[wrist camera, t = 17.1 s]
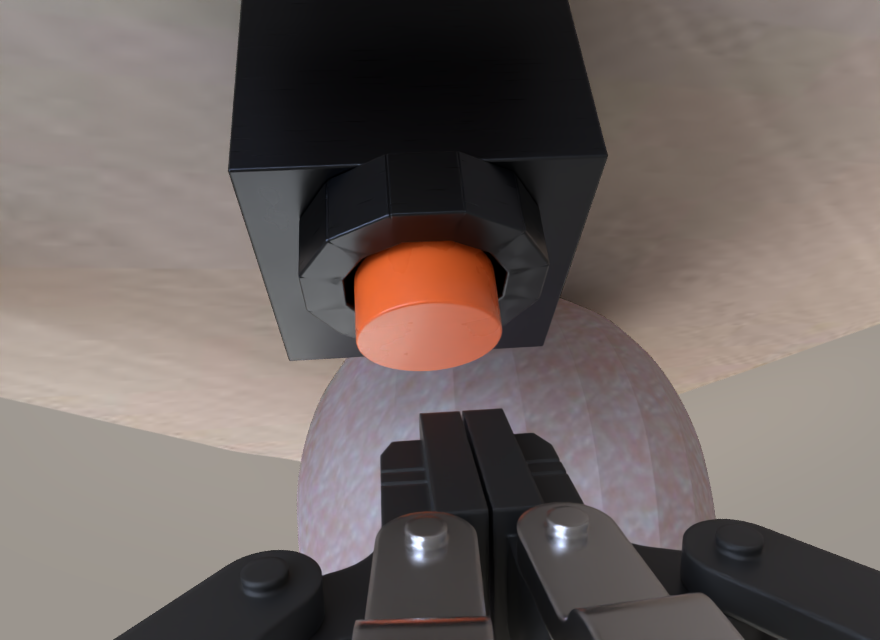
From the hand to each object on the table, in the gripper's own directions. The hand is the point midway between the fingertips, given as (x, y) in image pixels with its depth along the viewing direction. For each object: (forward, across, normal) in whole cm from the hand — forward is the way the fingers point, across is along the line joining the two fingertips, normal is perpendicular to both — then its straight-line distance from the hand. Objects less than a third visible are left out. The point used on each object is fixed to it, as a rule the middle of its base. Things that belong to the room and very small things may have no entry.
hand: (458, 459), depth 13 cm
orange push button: (+8, 0, -2) cm, 9 cm away
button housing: (+19, 0, -9) cm, 21 cm away
